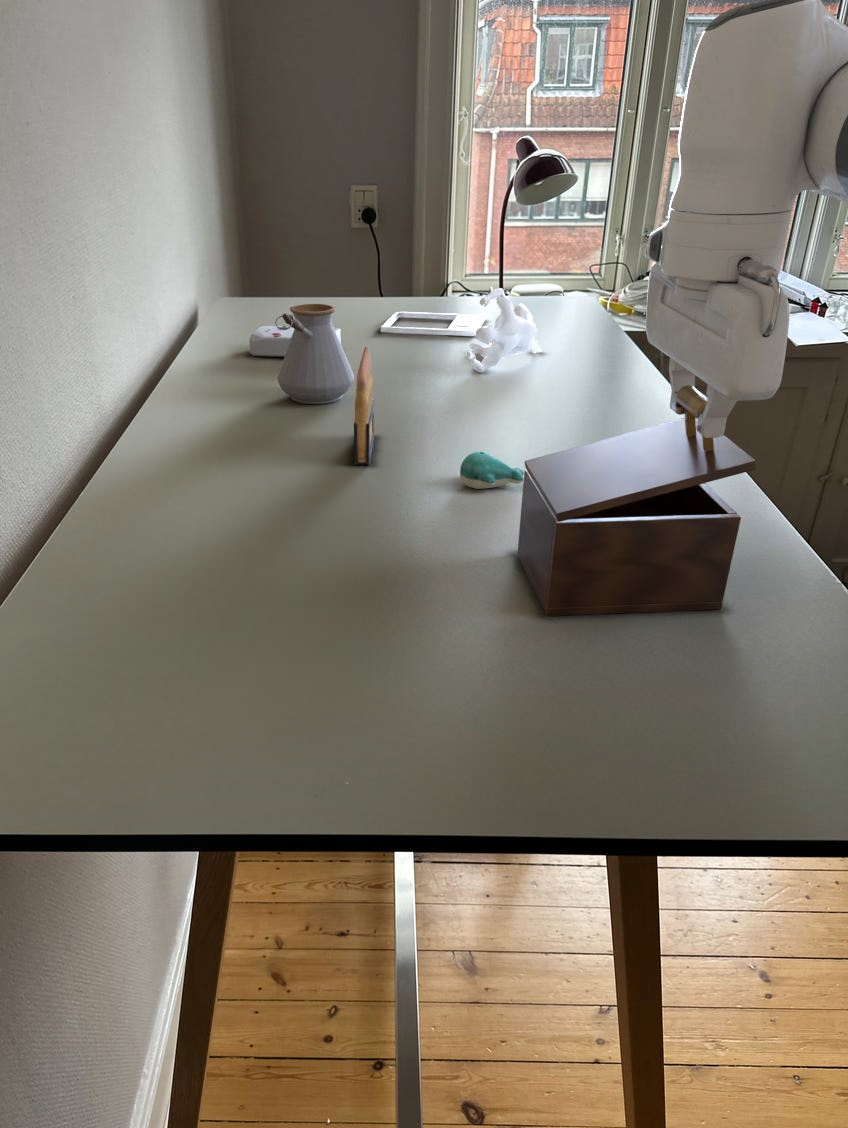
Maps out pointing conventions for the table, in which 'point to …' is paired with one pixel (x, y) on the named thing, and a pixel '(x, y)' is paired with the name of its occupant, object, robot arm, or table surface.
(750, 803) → the table surface
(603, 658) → the table surface
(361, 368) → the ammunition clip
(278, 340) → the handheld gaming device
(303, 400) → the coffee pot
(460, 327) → the photo frame
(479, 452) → the whale figurine
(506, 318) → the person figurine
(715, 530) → the compartment
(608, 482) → the compartment lid
